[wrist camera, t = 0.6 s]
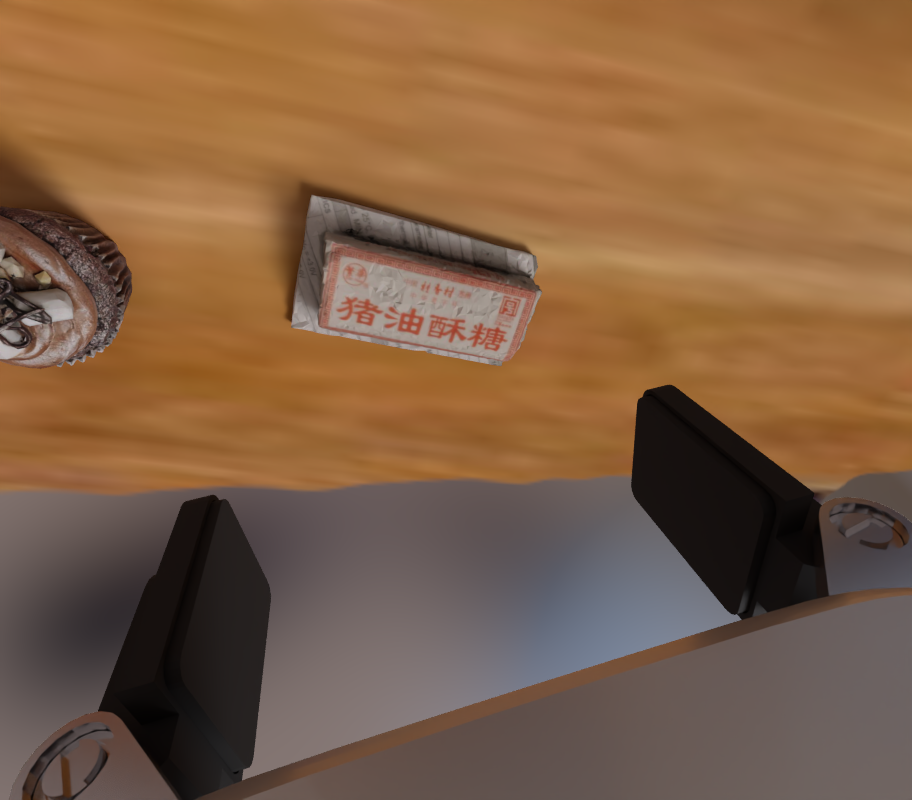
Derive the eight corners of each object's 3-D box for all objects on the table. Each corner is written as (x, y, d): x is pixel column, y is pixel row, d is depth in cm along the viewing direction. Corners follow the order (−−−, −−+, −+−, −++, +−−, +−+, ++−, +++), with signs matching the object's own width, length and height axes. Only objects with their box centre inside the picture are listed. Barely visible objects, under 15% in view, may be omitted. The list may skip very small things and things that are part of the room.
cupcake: (-54, 279, 32) (-190, 335, 23) (23, 159, 30) (-96, 174, 21) (100, 364, 37) (33, 437, 28) (175, 265, 35) (127, 311, 26)
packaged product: (560, 266, 37) (515, 385, 41) (536, 252, 41) (498, 361, 45) (308, 199, 31) (286, 346, 35) (310, 190, 35) (290, 322, 39)
